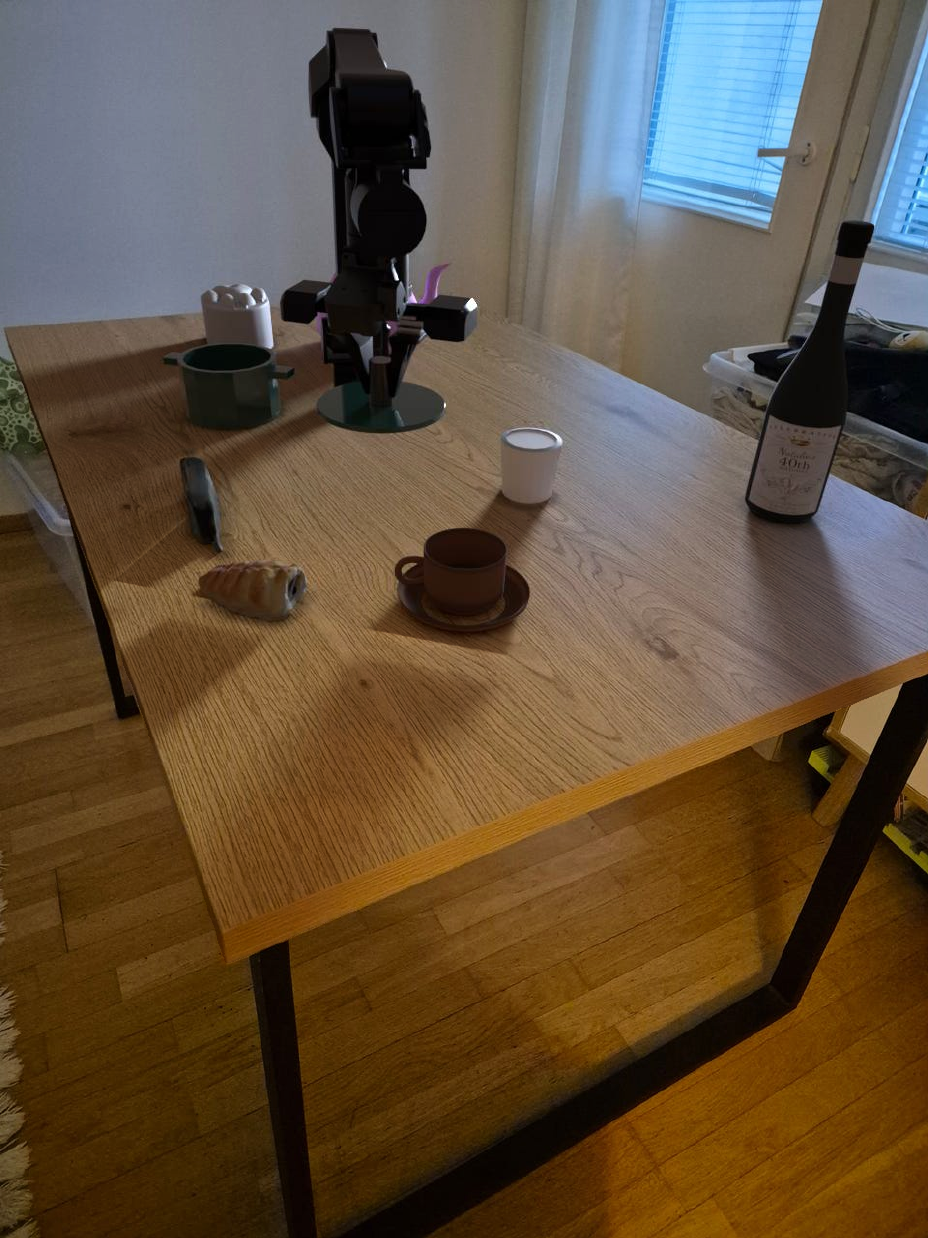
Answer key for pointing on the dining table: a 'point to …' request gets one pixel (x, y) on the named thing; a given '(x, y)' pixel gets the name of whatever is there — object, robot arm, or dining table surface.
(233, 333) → the lumpy-topped squat cylinder
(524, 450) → the white lidded cup
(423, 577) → the cup and saucer
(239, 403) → the pot
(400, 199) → the robot arm
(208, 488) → the black long curved piece
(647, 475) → the dining table surface
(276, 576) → the pastry
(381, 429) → the lid
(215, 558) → the dining table surface
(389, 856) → the dining table surface
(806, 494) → the wine bottle
